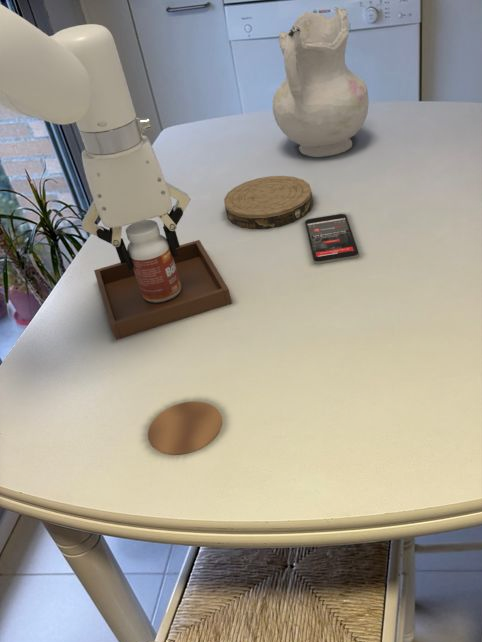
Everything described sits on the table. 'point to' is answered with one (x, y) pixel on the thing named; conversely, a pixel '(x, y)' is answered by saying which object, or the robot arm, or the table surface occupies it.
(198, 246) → the tray
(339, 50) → the ceramic pitcher
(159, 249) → the pill bottle
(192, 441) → the coaster
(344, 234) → the smartphone
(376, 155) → the table surface
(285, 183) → the wood log slice
